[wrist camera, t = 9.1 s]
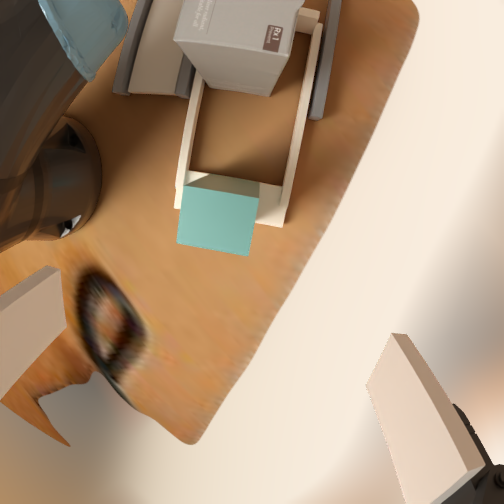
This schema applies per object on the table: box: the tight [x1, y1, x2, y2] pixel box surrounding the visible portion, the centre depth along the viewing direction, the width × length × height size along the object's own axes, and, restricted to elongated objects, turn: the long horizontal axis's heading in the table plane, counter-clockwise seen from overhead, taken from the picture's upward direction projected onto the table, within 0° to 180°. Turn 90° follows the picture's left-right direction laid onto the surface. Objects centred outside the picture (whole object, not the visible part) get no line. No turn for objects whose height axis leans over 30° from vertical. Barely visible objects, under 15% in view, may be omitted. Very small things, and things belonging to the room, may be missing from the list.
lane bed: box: [112, 0, 342, 121], centre depth 23 cm, size 21×20×2 cm
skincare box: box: [173, 0, 305, 97], centre depth 18 cm, size 8×7×16 cm
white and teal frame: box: [174, 7, 323, 256], centre depth 22 cm, size 11×22×11 cm, turn 170°
